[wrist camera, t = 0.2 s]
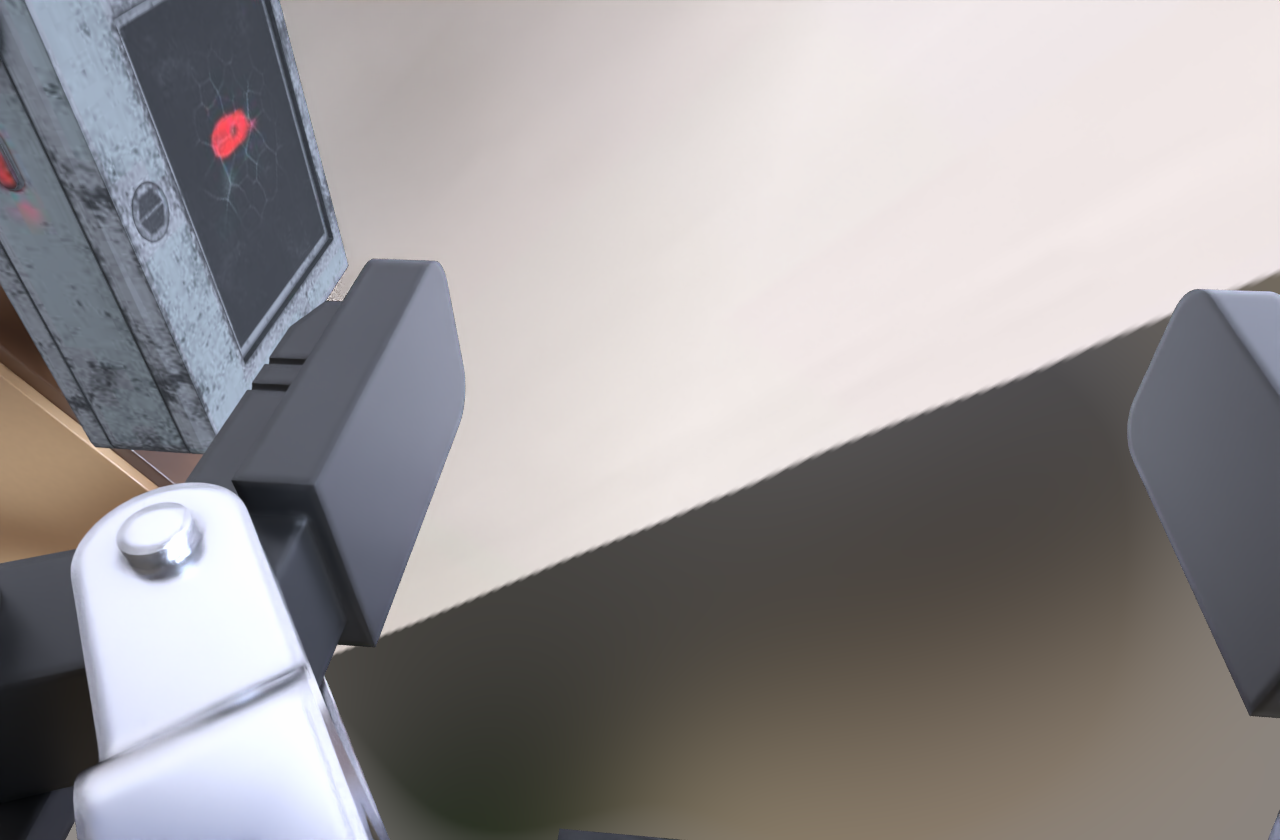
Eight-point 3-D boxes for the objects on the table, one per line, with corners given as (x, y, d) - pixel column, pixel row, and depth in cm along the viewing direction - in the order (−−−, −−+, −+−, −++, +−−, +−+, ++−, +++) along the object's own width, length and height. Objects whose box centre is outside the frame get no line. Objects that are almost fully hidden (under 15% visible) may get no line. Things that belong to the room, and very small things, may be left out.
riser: (-130, 344, 36) (-262, 450, 31) (59, 205, 30) (-66, 307, 26) (167, 563, 43) (98, 673, 39) (358, 483, 38) (304, 600, 34)
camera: (28, -363, 20) (-397, -363, 13) (193, -364, 20) (-144, -366, 12) (245, 260, 31) (83, 456, 24) (353, 265, 31) (225, 465, 23)
